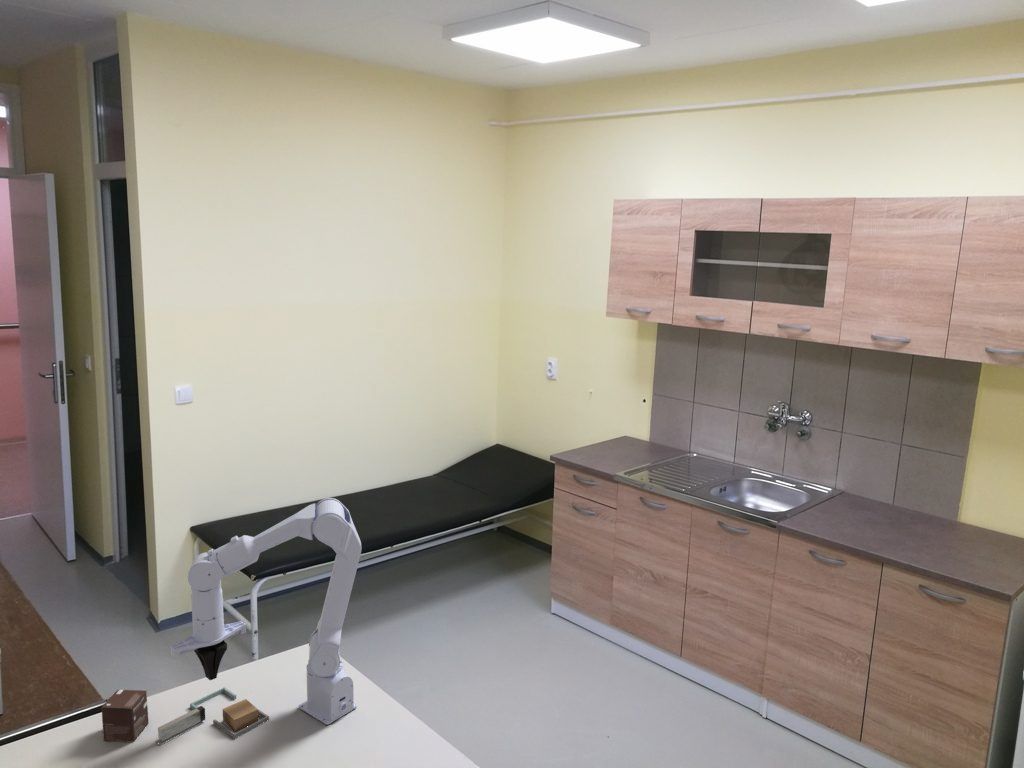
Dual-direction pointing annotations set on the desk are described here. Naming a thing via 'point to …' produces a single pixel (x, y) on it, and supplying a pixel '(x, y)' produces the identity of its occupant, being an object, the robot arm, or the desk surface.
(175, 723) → the bar
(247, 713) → the plug
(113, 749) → the desk surface
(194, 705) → the frame
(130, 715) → the box
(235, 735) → the socket
